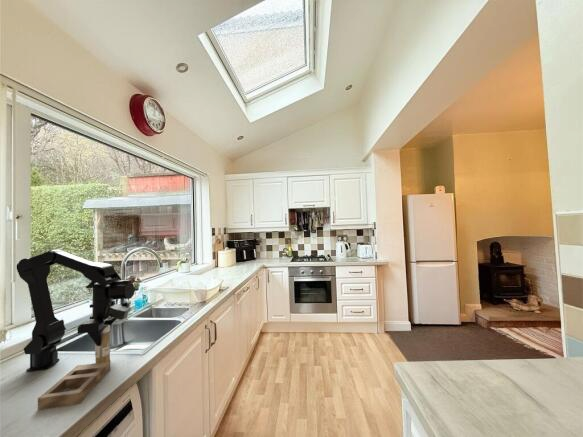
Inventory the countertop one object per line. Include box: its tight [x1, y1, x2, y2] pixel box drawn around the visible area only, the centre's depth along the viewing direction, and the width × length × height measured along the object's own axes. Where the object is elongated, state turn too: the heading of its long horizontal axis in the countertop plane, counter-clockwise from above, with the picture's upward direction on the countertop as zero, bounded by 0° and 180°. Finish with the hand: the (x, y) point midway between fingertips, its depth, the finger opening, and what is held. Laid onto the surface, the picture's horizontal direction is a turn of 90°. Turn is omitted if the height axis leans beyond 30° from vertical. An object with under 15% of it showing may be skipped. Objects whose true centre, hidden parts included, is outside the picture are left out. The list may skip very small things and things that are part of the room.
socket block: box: [37, 361, 111, 411], centre depth 79 cm, size 10×17×3 cm, turn 11°
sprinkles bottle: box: [94, 325, 111, 363], centre depth 92 cm, size 5×5×14 cm
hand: (102, 342), depth 92 cm, fingers closed on sprinkles bottle, 4 cm apart
